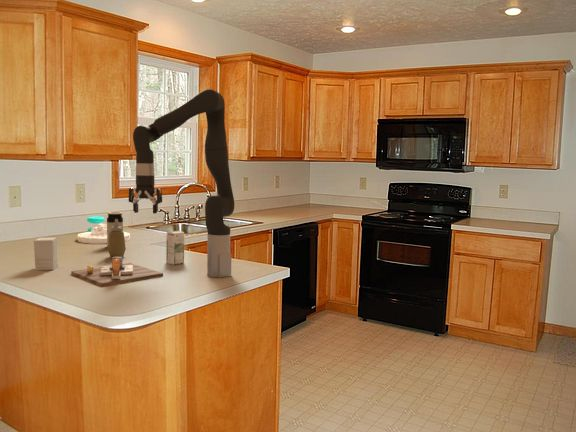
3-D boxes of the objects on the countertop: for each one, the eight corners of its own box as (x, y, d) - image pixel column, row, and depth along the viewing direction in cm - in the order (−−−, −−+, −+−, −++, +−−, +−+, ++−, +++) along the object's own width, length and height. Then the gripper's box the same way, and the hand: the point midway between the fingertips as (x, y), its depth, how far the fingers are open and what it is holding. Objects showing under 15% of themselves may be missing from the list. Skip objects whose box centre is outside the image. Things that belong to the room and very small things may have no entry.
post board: (163, 276, 210) (163, 258, 209) (102, 286, 191) (101, 267, 190) (130, 265, 227) (129, 249, 227) (71, 274, 209) (70, 256, 208)
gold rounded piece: (94, 273, 205) (94, 266, 205) (88, 274, 204) (88, 267, 203) (91, 272, 207) (91, 265, 207) (86, 273, 205) (86, 266, 205)
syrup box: (176, 261, 239) (176, 230, 237) (184, 263, 235) (184, 231, 234) (166, 263, 235) (166, 231, 233) (174, 265, 231) (174, 232, 229)
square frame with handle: (102, 268, 213) (102, 251, 212) (132, 267, 216) (132, 250, 216) (99, 279, 195) (99, 260, 194) (132, 278, 198) (132, 259, 197)
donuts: (102, 218, 309) (85, 217, 308) (102, 234, 310) (85, 234, 309) (106, 216, 319) (89, 216, 318) (106, 232, 320) (89, 232, 319)
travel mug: (125, 245, 276) (125, 212, 274) (119, 248, 268) (119, 213, 266) (111, 244, 277) (110, 211, 275) (104, 247, 269) (104, 213, 267)
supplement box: (58, 266, 222) (57, 237, 221) (53, 270, 215) (52, 240, 214) (39, 266, 221) (38, 237, 220) (34, 270, 214) (33, 240, 213)
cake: (78, 245, 275) (77, 227, 274) (76, 237, 301) (76, 221, 299) (132, 243, 286) (132, 226, 285) (127, 235, 312) (126, 220, 311)
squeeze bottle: (129, 257, 246) (128, 219, 244) (113, 259, 240) (112, 220, 238) (120, 254, 251) (119, 217, 249) (104, 256, 245) (104, 219, 243)
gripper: (164, 174, 218) (165, 212, 220) (134, 173, 222) (134, 211, 223) (156, 175, 211) (156, 214, 213) (124, 174, 214) (125, 213, 216)
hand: (145, 213), depth 218 cm, fingers open, 8 cm apart
